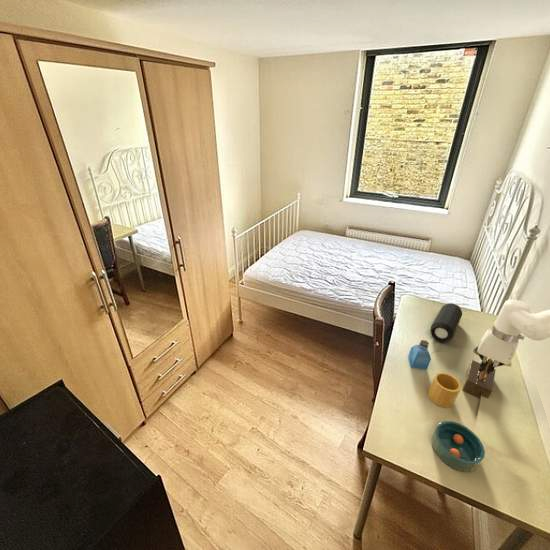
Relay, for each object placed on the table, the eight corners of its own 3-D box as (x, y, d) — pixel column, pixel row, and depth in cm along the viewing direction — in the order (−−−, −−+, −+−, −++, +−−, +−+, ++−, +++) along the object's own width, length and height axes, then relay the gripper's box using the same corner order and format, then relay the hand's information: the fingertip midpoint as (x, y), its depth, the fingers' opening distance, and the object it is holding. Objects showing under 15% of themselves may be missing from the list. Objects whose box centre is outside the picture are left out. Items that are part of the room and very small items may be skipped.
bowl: (481, 447, 95) (487, 437, 93) (475, 482, 86) (481, 473, 83) (436, 422, 103) (440, 413, 100) (426, 453, 93) (431, 444, 91)
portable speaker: (448, 347, 136) (455, 330, 132) (426, 338, 142) (432, 321, 137) (459, 321, 154) (465, 306, 149) (439, 314, 159) (444, 298, 154)
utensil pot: (455, 396, 112) (463, 380, 108) (450, 412, 106) (459, 395, 102) (431, 384, 117) (437, 368, 113) (425, 399, 111) (432, 383, 107)
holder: (490, 379, 120) (495, 369, 117) (486, 401, 111) (492, 391, 108) (467, 370, 124) (472, 359, 121) (462, 390, 115) (467, 379, 112)
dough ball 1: (462, 441, 96) (465, 435, 95) (460, 448, 94) (464, 442, 93) (452, 435, 98) (455, 430, 96) (450, 442, 96) (453, 437, 94)
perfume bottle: (411, 367, 125) (419, 346, 119) (408, 357, 130) (414, 336, 124) (426, 369, 124) (435, 348, 118) (422, 359, 129) (430, 338, 124)
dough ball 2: (459, 455, 92) (462, 450, 91) (457, 463, 90) (460, 458, 89) (448, 449, 94) (451, 444, 92) (446, 457, 92) (449, 451, 90)
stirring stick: (477, 388, 116) (493, 359, 108) (477, 391, 115) (492, 361, 107) (473, 387, 116) (488, 357, 109) (473, 389, 115) (488, 359, 108)
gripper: (532, 336, 100) (510, 374, 109) (480, 318, 108) (463, 355, 117) (532, 348, 95) (509, 387, 104) (477, 329, 103) (460, 366, 112)
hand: (485, 370), depth 110 cm, fingers closed on stirring stick, 1 cm apart
